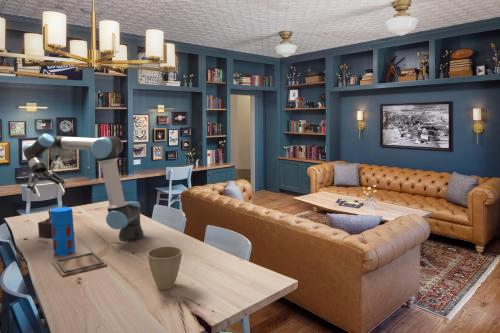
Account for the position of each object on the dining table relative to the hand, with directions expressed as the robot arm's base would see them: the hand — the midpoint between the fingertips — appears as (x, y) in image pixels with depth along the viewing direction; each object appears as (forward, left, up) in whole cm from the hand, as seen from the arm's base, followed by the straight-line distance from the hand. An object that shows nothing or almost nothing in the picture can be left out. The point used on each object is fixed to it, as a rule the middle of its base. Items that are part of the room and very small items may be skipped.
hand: (51, 195), depth 212 cm
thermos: (-8, +7, -32) cm, 34 cm away
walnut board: (-24, +25, -32) cm, 47 cm away
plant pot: (-73, +51, -32) cm, 95 cm away
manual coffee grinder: (+14, -28, -32) cm, 45 cm away
